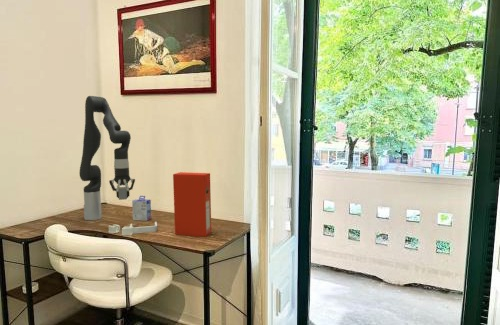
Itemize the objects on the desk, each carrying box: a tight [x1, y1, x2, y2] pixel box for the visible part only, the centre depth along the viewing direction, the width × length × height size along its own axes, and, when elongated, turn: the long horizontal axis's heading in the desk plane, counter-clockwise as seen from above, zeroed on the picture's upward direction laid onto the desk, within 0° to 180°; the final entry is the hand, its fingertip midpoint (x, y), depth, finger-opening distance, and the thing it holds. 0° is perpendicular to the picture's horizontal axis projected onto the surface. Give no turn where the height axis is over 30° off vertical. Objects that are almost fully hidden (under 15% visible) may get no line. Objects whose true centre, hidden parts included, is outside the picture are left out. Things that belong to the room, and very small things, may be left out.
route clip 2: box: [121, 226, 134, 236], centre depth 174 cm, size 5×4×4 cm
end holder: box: [129, 221, 158, 235], centre depth 181 cm, size 14×9×3 cm, turn 107°
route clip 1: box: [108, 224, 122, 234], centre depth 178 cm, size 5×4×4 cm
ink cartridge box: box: [131, 195, 152, 222], centre depth 203 cm, size 10×6×14 cm, turn 78°
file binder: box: [172, 171, 212, 238], centre depth 173 cm, size 8×17×32 cm, turn 75°
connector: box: [118, 186, 128, 201], centre depth 186 cm, size 4×11×6 cm, turn 17°
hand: (123, 197), depth 184 cm, fingers closed on connector, 4 cm apart
